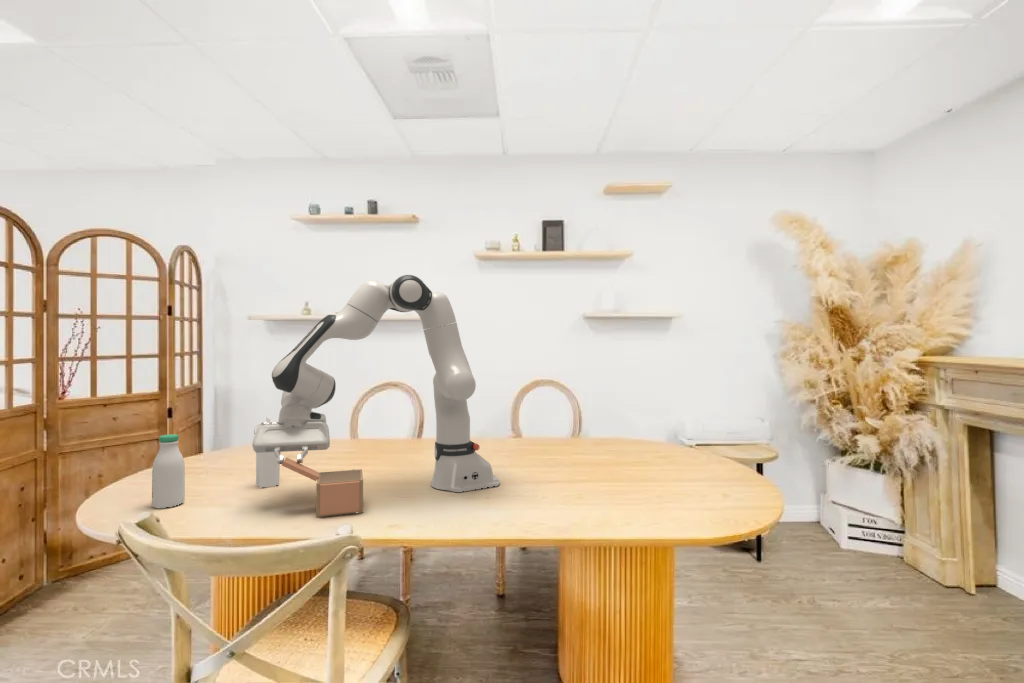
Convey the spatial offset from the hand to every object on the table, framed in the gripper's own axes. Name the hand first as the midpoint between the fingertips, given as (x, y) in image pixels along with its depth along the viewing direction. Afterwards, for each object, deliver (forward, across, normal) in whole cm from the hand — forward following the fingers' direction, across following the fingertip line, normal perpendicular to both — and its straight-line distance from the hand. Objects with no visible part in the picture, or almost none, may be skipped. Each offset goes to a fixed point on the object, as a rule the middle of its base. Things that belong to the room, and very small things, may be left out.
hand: (290, 462), depth 137 cm
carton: (+10, +13, +9) cm, 19 cm away
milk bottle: (-2, -34, +22) cm, 40 cm away
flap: (+4, +7, +2) cm, 8 cm away
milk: (-12, -10, +31) cm, 34 cm away
